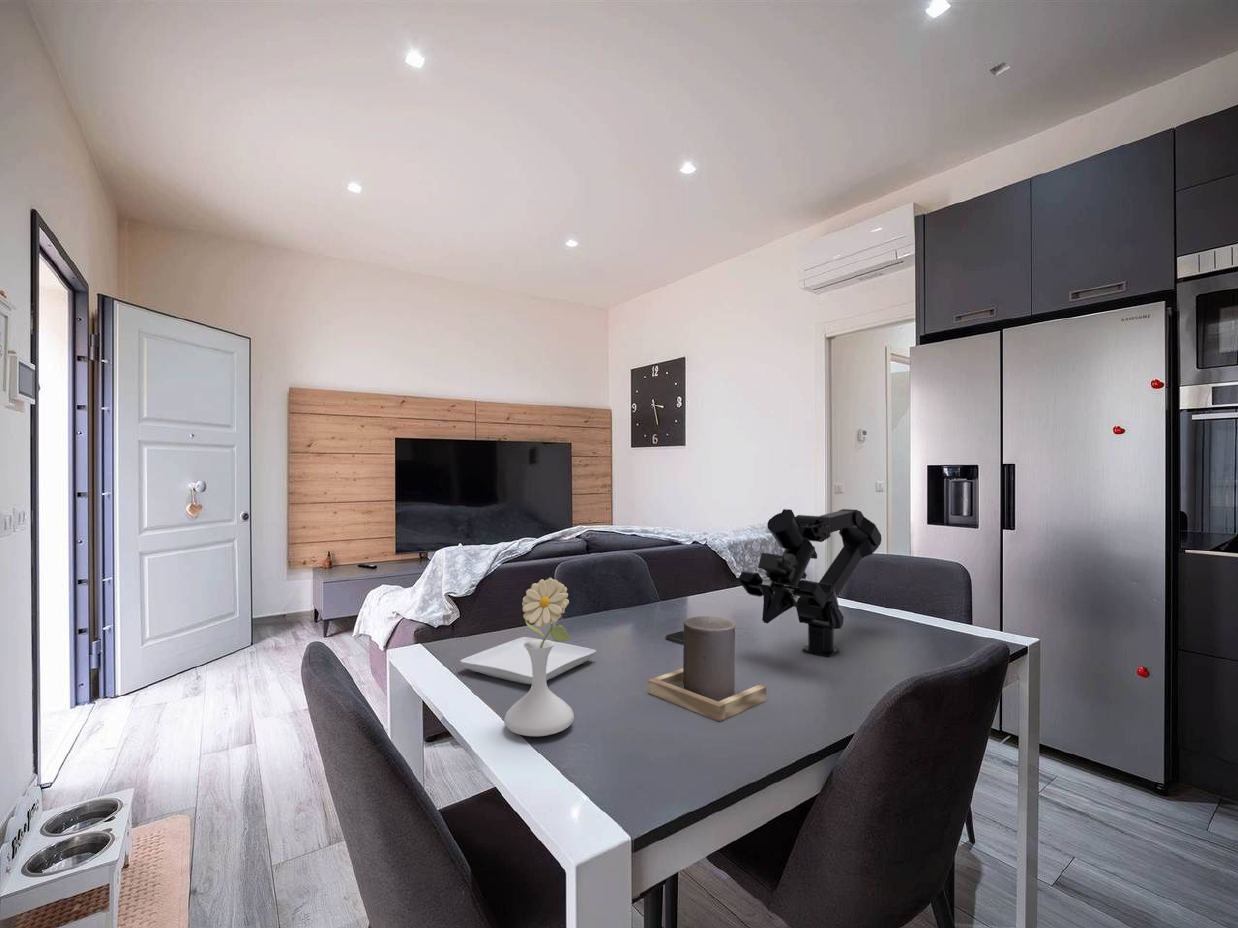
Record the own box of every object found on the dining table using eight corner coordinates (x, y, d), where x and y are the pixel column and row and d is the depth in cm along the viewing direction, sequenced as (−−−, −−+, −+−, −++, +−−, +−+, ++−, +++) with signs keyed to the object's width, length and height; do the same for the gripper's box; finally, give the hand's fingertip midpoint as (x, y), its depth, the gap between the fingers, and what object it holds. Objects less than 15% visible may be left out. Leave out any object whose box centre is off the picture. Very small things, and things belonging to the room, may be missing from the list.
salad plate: (523, 648, 142) (523, 634, 142) (598, 663, 131) (598, 648, 131) (456, 675, 124) (456, 659, 124) (537, 695, 113) (537, 677, 113)
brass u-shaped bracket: (695, 676, 122) (695, 663, 122) (766, 700, 109) (766, 686, 109) (648, 692, 113) (648, 679, 113) (719, 721, 100) (719, 706, 100)
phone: (684, 630, 154) (731, 642, 143) (684, 634, 154) (731, 647, 143) (663, 636, 148) (711, 649, 137) (663, 640, 148) (711, 654, 137)
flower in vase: (490, 727, 98) (490, 575, 98) (545, 708, 106) (545, 567, 106) (538, 755, 89) (538, 586, 89) (595, 731, 97) (594, 576, 97)
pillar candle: (672, 694, 112) (672, 615, 112) (705, 681, 119) (706, 606, 119) (712, 711, 105) (713, 625, 105) (746, 696, 111) (746, 616, 111)
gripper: (742, 534, 134) (711, 591, 127) (818, 542, 120) (788, 607, 113) (763, 565, 139) (734, 621, 132) (838, 576, 125) (811, 640, 118)
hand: (764, 621), depth 124 cm, fingers closed
